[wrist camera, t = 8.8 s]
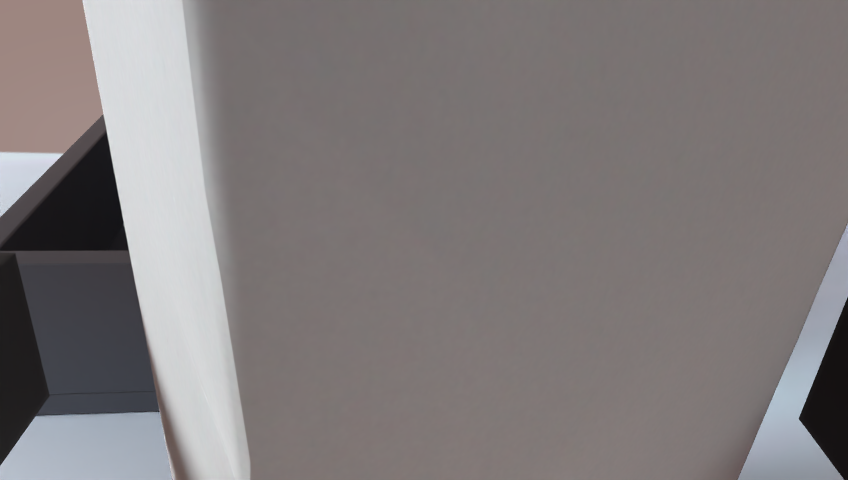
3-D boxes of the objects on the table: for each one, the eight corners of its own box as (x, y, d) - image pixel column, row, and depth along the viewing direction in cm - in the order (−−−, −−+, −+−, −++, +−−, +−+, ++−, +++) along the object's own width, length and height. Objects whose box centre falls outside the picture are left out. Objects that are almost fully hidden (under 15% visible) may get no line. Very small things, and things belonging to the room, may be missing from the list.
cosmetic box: (484, 490, 19) (575, -159, 12) (684, 738, 14) (1071, -177, 7) (173, 624, 15) (27, -228, 8) (280, 1046, 10) (134, -411, 3)
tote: (435, 206, 36) (442, 109, 34) (498, 399, 23) (518, 260, 20) (129, 205, 34) (114, 101, 32) (-5, 417, 21) (-49, 264, 18)
